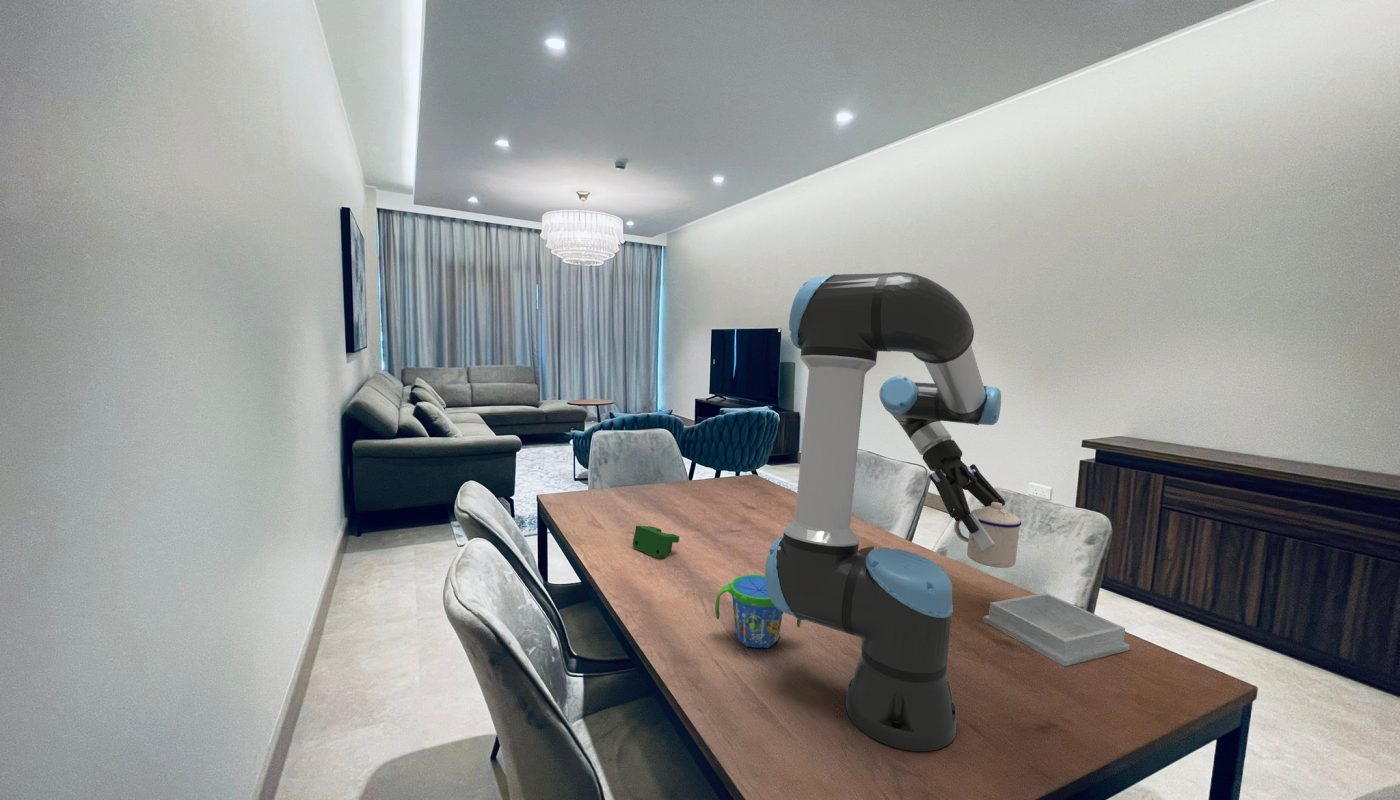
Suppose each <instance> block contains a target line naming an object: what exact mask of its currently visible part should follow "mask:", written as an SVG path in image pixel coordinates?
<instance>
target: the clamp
mask: <svg viewBox="0 0 1400 800" xmlns="http://www.w3.org/2000/svg"><path fill="white" fill-rule="evenodd" d="M634 530H635V531H634V534H633V539H632V546H633V548H634V549H636V550H637V551H639V552H642V553H645V554H647V555H649V556H651V557H654V558H657V559H664V558H667V556H668V553H671V552H672V547H673V544H675V543H676V544H678V543H679V542H680V536H679V535H677V534H674V533H666V532H665V533H664V532H662V529H660V528H658V527H655V526H646V525H636V526H635V529H634Z"/></svg>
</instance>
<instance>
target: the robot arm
mask: <svg viewBox="0 0 1400 800" xmlns="http://www.w3.org/2000/svg"><path fill="white" fill-rule="evenodd" d="M788 329H789V331H790V335H789V336H790V337H789V338H790V340H791V343H792V344H793V345H794V347H796V348H797V349H799V350H800V360H801V361H802V363H803V364H804V365H805V366H806V368H807V369H808V377H807V378H808V379H807V388H806V395H805V396H806V398H805V409H804V418H803V419H804V420H803V429H802V438H801V441H802V442H801V450H800V460H799V469H798V481H797V490H796V499H795V500H796V501H795V513H794V514H795V515H794V520H793V521H791V522H790V523H789V524H788V525H787V526H785V527H784V529H783V534H782V536H779V537H777V538H776V539H775V540H774V541H773V542H772V543H771V545H770V547H769V555H767V558H766V561H765V572H764V575H765V580H766V588H767V592H768V595H769V598H770V600H771V601H772V602H773V604H774V606H775V607H776V608H777V609H779V610H780V611H782V612H783V613H785V614H787V615H790V616H792V617H794V618H795V619H800V620H801V621H807V622H809V623H813V624H817V625H820V626H822V627H826V628H829V629H833V630H835V631H839V632H842V633H844V634H848V635H852V636H855V637H857V638H859V639H861V654H860V659H859V660H858V663H857V665H856V669H855V671H854V675H853V677H852V678H851V680H850V682H849V683H848V686H847V690H846V699H845V707H846V708H845V709H846V712H847V714H848V716H849V718H850V720H851V721H852V722H853V724H854V725H855V726H856V727H857V728H858V729H859V730H860V731H861V732H863V733H864V734H866V735H867V736H869V737H870V738H872V739H873V740H876V741H877V742H880V743H881V744H884V745H887V746H890V747H893V748H896V749H900V750H906V751H911V752H930V751H932V752H933V751H936V750H937V751H938V750H939V749H943V748H945V747H946V746H948V745H950V744H951V743H952V742H953V740H954V739H955V737H956V735H957V734H956V732H957V722H958V714H957V710H956V707H955V704H954V700H953V695H952V691H951V687H950V683H949V679H948V676H947V675H948V674H947V671H948V669H947V668H948V658H949V657H948V656H949V647H950V646H949V645H950V635H951V634H950V632H951V623H952V622H951V620H952V614H953V610H954V606H953V584H952V581H951V578H950V576H949V574H948V572H946V571H945V570H944V569H943V568H942V567H941V566H940V565H939V564H937V563H936V562H935V561H933V560H931V559H929V558H927V557H925V556H922V555H921V554H918V553H915V552H913V551H909V550H905V549H901V548H897V547H896V548H889V547H878V548H874V549H873V550H871V551H870V552H869V554H868V555H867V556H864V555H861V554H859V553H858V551H859V548H860V547H859V546H860V539H859V537H858V536H857V534H856V533H855V532H854V531H853V530H852V528H851V522H852V512H853V511H852V510H853V503H854V502H853V501H854V491H855V482H856V480H855V479H856V471H857V462H858V449H859V440H860V439H859V438H860V427H861V419H862V418H861V417H862V407H863V397H864V396H863V395H864V388H865V387H864V386H865V376H866V374H867V373H868V372H869V371H870V370H871V369H873V368H874V367H875V366H877V358H878V352H889V353H890V352H898V353H899V352H900V353H910V354H912V355H913V356H914V357H915V358H916V359H918V360H919V361H920V362H923V363H924V364H925V366H926V369H927V371H928V373H929V375H930V377H931V379H932V381H933V383H932V382H931V383H930V382H914V381H913V380H912V379H910V378H909V377H907V376H905V375H904V376H903V375H894V376H892V377H889V378H888V379H886V380H885V381H884V382H883V383H882V384H881V387H880V389H879V396H878V397H879V400H880V402H881V405H883V407H884V409H885V410H886V412H888V413H889V414H890V415H892V416H893V418H894V419H895V420H896V421H897V422H898V424H899V425H900V426H901V428H902V429H903V431H904V432H905V434H906V436H907V437H908V438H909V440H910V441H911V443H912V444H913V446H914V447H915V450H916V451H917V452H918V453H919V455H920V456H922V460H923V461H924V463H925V464H926V466H927V468H928V469H929V471H931V472H932V473H931V474H929V479H930V480H931V482H932V484H934V486H935V488H936V490H937V492H938V494H939V496H940V498H941V500H942V502H943V504H944V506H945V509H946V510H947V513H948V515H949V516H950V518H952V519H953V520H954V521H957V522H959V521H960V520H962V521H960V522H963V523H962V524H963V525H964V526H965V527H966V529H967V530H968V533H969V532H970V533H971V534H972V536H973V538H974V539H975V541H976V542H977V544H978V545H979V547H980V548H981V550H985V549H986V548H988V547H990V546H991V545H993V544H995V543H994V542H993V540H992V539H991V537H990V536H989V534H988V533H987V531H986V530H985V528H984V527H983V525H982V524H981V522H979V519H978V518H977V516H976V515H975V513H973V514H971V515H970V513H971V510H970V507H969V504H968V502H967V498H966V495H965V492H964V491H968V492H969V493H970V494H971V496H973V497H974V498H975V499H976V500H977V501H978V502H980V504H982V505H983V506H984V507H988V506H991V503H992V502H998V503H1001V504H1002V507H1004V506H1005V505H1006V501H1005V499H1004V498H1003V497H1002V496H1001V495H1000V494H999V493H998V491H997V490H996V489H995V488H994V487H993V486H992V485H991V483H990V482H989V481H988V480H987V479H986V478H985V476H984V475H983V474H982V473H981V472H980V470H979V469H978V467H977V465H976V464H974V463H972V464H971V465H969V466H967V465H966V464H965V463H964V462H963V461H962V459H961V458H962V456H963V451H962V449H961V448H960V447H959V445H958V443H956V441H955V439H952V435H951V433H949V431H948V429H946V427H945V425H944V424H943V423H942V422H947V423H948V422H949V423H957V424H968V425H975V426H979V425H985V426H993V425H995V424H997V422H998V421H999V418H1000V415H1001V414H1000V413H1001V406H1002V404H1001V403H1002V393H1001V389H1000V388H998V387H996V386H995V387H994V386H988V385H984V383H983V378H982V376H981V372H980V369H979V367H978V363H977V360H976V357H975V354H974V351H973V350H974V349H973V348H972V344H973V341H974V336H975V329H974V325H973V321H972V319H971V316H970V314H969V311H968V310H967V309H966V307H965V306H964V304H963V303H962V302H961V301H960V300H959V299H958V298H957V297H956V296H955V295H954V294H953V293H952V292H950V291H949V290H948V289H947V288H945V287H943V286H942V285H941V284H939V283H937V282H936V281H934V280H931V279H930V278H928V277H925V276H921V275H920V274H916V273H911V272H907V271H906V272H905V271H902V272H899V271H898V272H889V273H887V272H885V273H884V272H883V273H882V272H881V273H878V272H877V273H849V274H848V273H843V274H835V273H833V274H830V275H826V276H824V275H823V276H816V277H813V278H809V279H808V280H806V282H804V283H803V284H802V286H801V287H800V288H799V289H798V291H797V292H796V294H795V296H794V299H793V301H792V305H791V309H790V312H789V320H788ZM1021 536H1022V534H1021V533H1020V532H1019V536H1018V538H1020V537H1021Z"/></svg>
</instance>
